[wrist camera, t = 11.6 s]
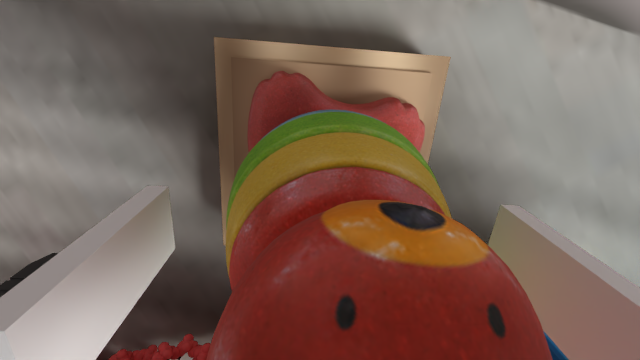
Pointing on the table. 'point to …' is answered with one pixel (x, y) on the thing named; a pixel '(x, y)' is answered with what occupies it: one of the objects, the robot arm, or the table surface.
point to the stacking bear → (356, 244)
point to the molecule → (166, 351)
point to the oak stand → (329, 77)
